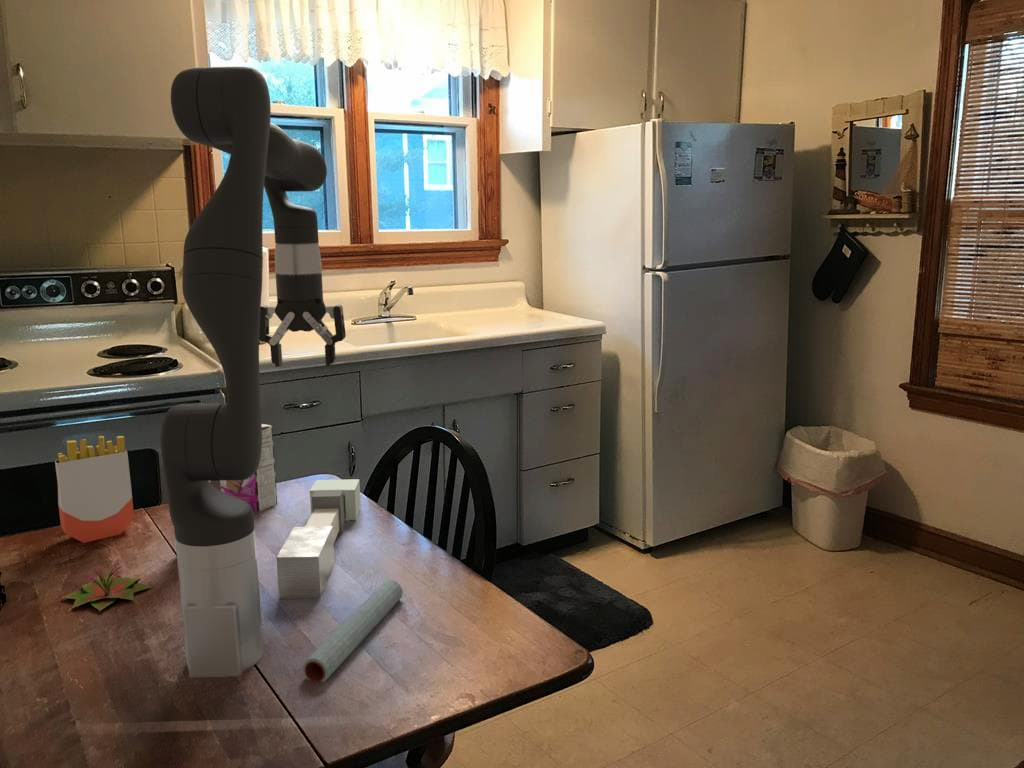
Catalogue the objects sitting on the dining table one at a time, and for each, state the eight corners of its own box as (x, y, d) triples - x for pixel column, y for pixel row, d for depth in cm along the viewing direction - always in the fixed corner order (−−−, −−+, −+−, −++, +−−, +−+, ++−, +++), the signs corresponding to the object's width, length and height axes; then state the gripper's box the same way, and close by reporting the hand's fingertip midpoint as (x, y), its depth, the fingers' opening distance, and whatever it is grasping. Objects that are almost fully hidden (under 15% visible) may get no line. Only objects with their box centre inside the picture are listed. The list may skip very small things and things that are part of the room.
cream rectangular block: (334, 563, 133) (332, 525, 132) (320, 597, 121) (318, 556, 120) (296, 564, 133) (294, 526, 131) (279, 598, 121) (276, 557, 120)
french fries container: (62, 539, 144) (49, 438, 140) (129, 525, 150) (119, 428, 146) (67, 547, 140) (54, 444, 136) (135, 532, 147) (125, 433, 143)
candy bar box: (218, 504, 160) (212, 422, 157) (239, 497, 164) (233, 416, 161) (258, 515, 154) (252, 430, 151) (279, 507, 159) (273, 424, 155)
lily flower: (44, 604, 121) (40, 574, 120) (117, 573, 131) (114, 545, 130) (97, 622, 115) (94, 592, 114) (169, 589, 126) (166, 560, 125)
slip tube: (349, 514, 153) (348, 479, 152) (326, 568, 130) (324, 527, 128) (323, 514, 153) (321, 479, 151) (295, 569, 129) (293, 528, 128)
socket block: (360, 511, 156) (359, 479, 155) (356, 523, 150) (354, 489, 149) (317, 512, 156) (316, 480, 154) (311, 524, 150) (309, 490, 148)
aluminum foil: (327, 687, 99) (326, 661, 98) (278, 678, 101) (276, 653, 100) (403, 602, 120) (402, 580, 120) (361, 596, 122) (360, 575, 122)
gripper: (249, 272, 135) (256, 370, 138) (337, 272, 136) (342, 369, 139) (261, 269, 143) (267, 362, 146) (345, 269, 143) (349, 361, 146)
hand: (304, 366), depth 142 cm, fingers open, 8 cm apart
